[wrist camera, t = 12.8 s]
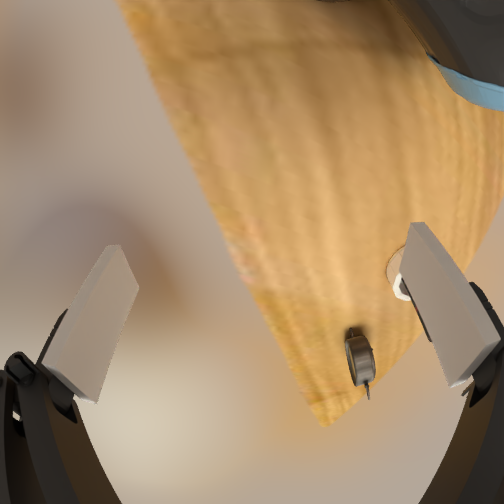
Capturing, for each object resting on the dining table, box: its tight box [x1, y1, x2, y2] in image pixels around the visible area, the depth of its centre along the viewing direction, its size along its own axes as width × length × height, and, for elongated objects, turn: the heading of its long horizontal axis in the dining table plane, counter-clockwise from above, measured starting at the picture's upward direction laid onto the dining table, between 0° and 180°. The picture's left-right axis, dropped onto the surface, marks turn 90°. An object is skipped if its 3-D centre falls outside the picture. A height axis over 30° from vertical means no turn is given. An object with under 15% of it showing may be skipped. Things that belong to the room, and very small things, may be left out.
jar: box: [386, 246, 411, 301], centre depth 44 cm, size 10×10×4 cm
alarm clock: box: [345, 328, 376, 400], centre depth 53 cm, size 11×5×16 cm, turn 16°
